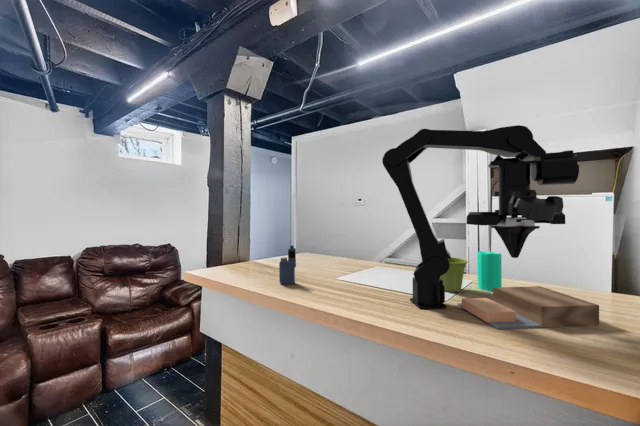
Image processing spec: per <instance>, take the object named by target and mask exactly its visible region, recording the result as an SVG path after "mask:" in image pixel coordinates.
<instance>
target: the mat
mask: <svg viewBox="0 0 640 426" xmlns="http://www.w3.org/2000/svg"><path fill="white" fill-rule="evenodd" d="M456 304H457V306H459V307H460V308H462V302H457V303H456ZM462 309H464V308H462ZM464 310H465V311H467V310H466V309H464ZM467 312H468V313H470V314H472V313H471V312H469V311H467ZM472 315H474V314H472ZM474 316H475V317H476V318H479V317H478V316H476V315H474ZM479 319H480V320H482V321H483V322H485V323H486V324H489V325H490V326H491V327H493V328H495V329H497V330H507V329H508V330H509V329H533V328H537V329H538V328H543V327H542V325H540V324H538V323H536V322H533V321H531V320H529V319H527V318H525V317H523V316H521V315H519V314H517V313H516V321H513V322H486V321H484V320H483V319H481V318H479Z"/></svg>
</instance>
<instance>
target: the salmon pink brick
mask: <svg viewBox="0 0 640 426" xmlns="http://www.w3.org/2000/svg"><path fill="white" fill-rule="evenodd" d="M461 303H462V307H461V309H463V308H464V310H465V309H466V310H465V311H467V312H468V311H469V312H468V313H470V312H471V313H470V314H472V315H473V314H474V316H475V315H476V316H475V317H477V316H478V317H479V319H480V318H481V319H480V320H482V319H483V320H484V321H483V320H482V321H483V322H485V321H486V322H485V323H487V322H513V321H516V311H514V310H512V309H509V308H507V307H505V306H503V305H501V304H499V303H497V302H494V301H493V299H490V298H488V297H479V298H478V297H473V298H472V297H471V298H470V297H469V298H467V297H466V298H461ZM478 317H477V318H478Z"/></svg>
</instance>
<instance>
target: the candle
mask: <svg viewBox="0 0 640 426" xmlns="http://www.w3.org/2000/svg"><path fill="white" fill-rule="evenodd" d="M490 249H491V248H490V247H488V251H478V252H477V288H478V289H480V290H482V291H487V292H493V287H503V286H502V284H503V283H502V281H503V279H502V252H493V251H491V250H490Z"/></svg>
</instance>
